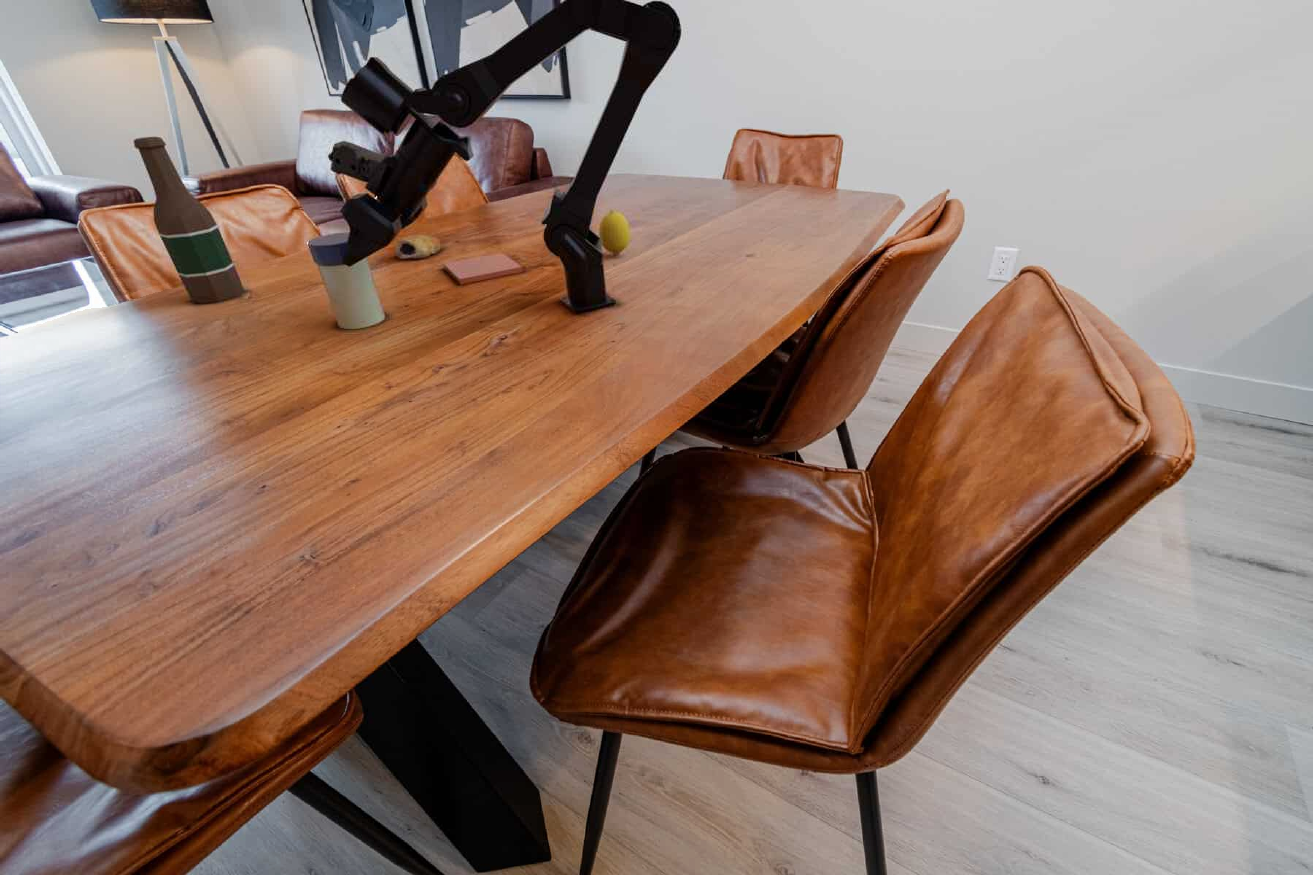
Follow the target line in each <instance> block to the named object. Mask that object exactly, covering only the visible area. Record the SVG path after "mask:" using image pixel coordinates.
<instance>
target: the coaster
mask: <svg viewBox="0 0 1313 875" xmlns="http://www.w3.org/2000/svg"><path fill="white" fill-rule="evenodd" d="M443 269H444V270H445V271H446V272H447V273H448V274H449V275H450V276H451V277H452V278H453V279H454V280H455V281H456V282H457V283H458V284H459V285H467V284H470V283H476V282H481V281H486V280H492V279H495V278H501V277H506V276H510V275H515V274H519V273H523V272H524V270H523V266H522V265H521V264H520V263H518V262H516V261H515V260H513V259H512V258H510V256H507V255H506V254H505V253H503V252H499V253H494V254H489V255H483V256H478V257H472V258H467V259H462V260H455V261H451V262H446V263H443Z"/></svg>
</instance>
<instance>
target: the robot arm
mask: <svg viewBox="0 0 1313 875" xmlns="http://www.w3.org/2000/svg"><path fill="white" fill-rule="evenodd" d="M587 31H593V32H596V33H599V34H602V35H604V36H608V37H610V38H613V39H616V40H618V41H619V40H620V41H621V42H625V44H624V48H623V52H622V55H621V56H622V57H621V60H620V65H619V69H618V73H617V77H616V79H615V82H614V84H613V87H612V90H611V91H610V94H609V97H608V98H607V100H606V104H605V106H604V108H603V110H602V113H601V114H600V117H599V119H598V121H597V124H596V126H595V128H594V131H593V133H592V136H591V138H590V140H589V143H588V145H587V147H586V149H585V152H584V154H583V157H582V159H581V161H580V164H579V166H578V168H577V170H576V173H575V176H574V178H573V179H572V181H571V182H570V184H569V185H568V186H567V188H566V189H565V191H563V190H561V189H560V188H558V187H557V186H555V188H554V191H553V195H552V198H551V202H550V204H549V206H548V208H547V209H545V211H544V213H543V216H542V219H541V225H542V226H543V225H545V226H544V229H543V235H542V236H543V241H544V244H545V247H546V248H547V250H548V251H549V252H550V253H551V254H552V255H554V256H556V257H558V258H559V260H560V262H561V264H562V266H563V271H564V277H565V279H564V280H565V287H566V294H567V296H562V297H560V298H559V302H560V303H562V304H563V305H564V306H566V307H567V308H568V309H570V310H571V311H573V312H574V313H576V314H579V313H583V312H588V311H592V310H596V309H600V308H601V309H602V308H605V307H609V306H613V305H616V304H617V300H616V299H614V298H613V297H611V296H610V295H609V294H607V288H606V287H607V286H606V277H605V266H604V259H603V257H604V254H603V245H602V239H601V238H600V237H599V234H597V233H595V232H594V231H593V230H592V229H591V228H590V227H591V224H592V219H593V217H594V216H593V215H594V211H595V207H596V202H597V200H598V199H597V198H598V195H599V193H600V191H601V189H602V186H603V185H604V183H605V181H606V178H607V176H608V174H609V172H610V169H611V167H612V165H613V163H614V160H615V158H616V156H617V154H618V152H619V150H620V148H621V145H622V143H623V142H624V139H625V136H626V135H627V132H628V130H629V127H630V125H631V123H632V121H633V119H634V117H635V115H636V112H637V111H638V107H639V106H640V104H641V102H642V99H643V97H644V95H645V93H647V91H648V90H649V88H650V86H651V85H652V84H653V82H654V81H655V80H656V79H657V77H658V76H659V74H660V73H661V72H662V70H663V69H664V67H666V64H667V63H668V61H669V60H670V58H671V57H672V55H673V54H674V53H675V51H676V50H677V49H678V46H679V44H680V41H681V38H682V25H681V22H680V17H679V15H678V13H677V11H676V10H675V9H674V7H672V6H671V5H670V4H669V3H667V2H665V1H662V0H652V1H648V2H646V3H645V4H643V5H641V4H638V3H635V2H633V1H630V0H563V1H562V2H560V3H559V4H557V5H556V6H555V7H553V8H552V9H550V10H549V11H548V12H547V13H545V14H544V15H542V16H541V17H540V18H538V19H537V20H536V21H534V22H533V23H531V24H530V25H529V26H528V27H526V28H525V29H524V30H522V31H521V32H519V34H517V35H515V36H514V37H512V39H510V40H509V41H507V42H506V43H505V44H503V45H502V46H501V47H499V48H497V49H496V50H495V51H494V52H493V53H491V54H489V55H486V56H484V57H482V58H480V59H477V60H476V61H472V62H470V63H468V64H466V65H463V66H461V67H458V68H456V69H454V70H452V71H450V72H447V73H445V74H442V75H441V76H439V77H438V78H437V79H436V81H434V83H433V85H432V87H431V88H429V89H427V88H426V87H419V88H415V89H412V88H411V87H410V86H409V85H408V84H407V83H405V82H404V81H403V80H402V79H401V78H400V77H398V76H397V75H396V74H395V73H394V72H393V71H392V70H391V69H390V68H389V66H388V65H387V64H386V63H385V62H384V61H382V59H380V58H379V57H378V56H370V57H369V58H368V60H367V62H366V63H365V65H363V66H362V67H361V68H360V69H359V70H358V71H357V72H356V73H355V75H354V76H353V77H350V79H349V80H348V82H347V83H346V84H345V87H344V88H343V91H342V92H341V97H340V102H342V104H344V105H345V107H347V108H348V109H350V110H351V111H352V112H354V114H356V115H357V116H358V117H360V118H361V119H362V120H363V121H364V122H366V123H367V124H368V125H369V126H371V127H372V128H373V129H374V130H375V131H377V132H378V133H379V134H381V135H382V136H383V137H387V136H388V135H389V134H390V133H391V132H392V134H393V135H394V136H395V137H398V136H400V135H401V134H402V133H403V131H404V130H405V129H406V127H407V126H408V125H409V123H410V122H411V120H412V119H413V118H414V119H415V120H414V121H413V122H412V124H411V125H410V126H409V129H408V130H407V132H406V134H405V135H404V137H403V138H402V140H401V141H400V142H399V144H398V146H397V147H396V149H395V150H394V151H393V152H392V153H391V154H390V155H389V154H387V155H385V156H384V155H382V154H380V153H379V152H376V151H374V150H371V149H368V148H366V147H364V146H361V145H358V144H355V143H353V142H350V141H345V140H342V141H339V142H336V143H334V144H333V146H332V150H331V152H330V153H329V154H328V155H327V158H328V160H329V161H330V171H331V172H333V173H335V174H338V175H345V176H347V177H350V178H352V179H355V180H357V181H360V182H363V183H366V184H365V186H363V188H364V189H366V190H367V191H368V192H369V193H371V194H372V195H373V196H372V195H371V194H369V193H368V192H364V193H355V194H354V195H353V196H351V197H349V198H347V199H346V200H345V203H344V204H343V205H342V207H341V209H340V211H339V212H340V213H341V214H340V215H341V216H342V217H343V220H344V221H346V223H347V225H348V227H349V231H348V232H349V237H348V241H347V244H346V248H345V252H344V255H343V259H342V262H343V263H344V264H345V265H347V266H348V267H351V266H352V265H354V264H356V263H357V262H359V261H361V260H363V259H364V258H366V257H367V258H369V257H370V256H372V255H373V254H375V253H377V252H379V251H380V250H382V249H384V248H386V247H388V246H389V245H390V244H392V243H393V241H394V240H395V239H396V238H397V236H398V235H399V234H400V232H401V230H403V229H405V228H407V227H408V226H409V225H411V224H413V223H414V222H415V221H416V220H417V219H419V217H421V215H422V214H423V213H424V211H425V210H426V208H427V207H428V201H427V196H428V194H429V193H430V191H431V190H433V189H434V188H435V186H436V185H437V184H438V180H439V178H440V176H442V174H443V172H444V171H445V169H446V168H447V166H448V165H449V164H450V162H451V161H452V159H453V157H454V156H455V154H456V155H458V156H459V157H460V158H461V159H462V160H463V161H465V162H468V161H470V160H471V159H472V158H473V157H474V156H475V154H474V152H473V148H472V136H471V135H469V134H468V135H460V134H458V133H457V132H456V131H455V130H454V129H453V128H452V127H454V128H456V129H457V128H458V129H464V128H467V127H469V126H471V125H473V124H475V123H477V122H479V121H480V120H481V119H482V118H483V117H484V116H485V115H486V114H487V113H488V112H489V111H490V110H491V108H492V107H493V106H494V105H495V104H496V103H497V102H498V101H499V100H500V98H502V96H503V95H504V94H505V92H507V90H508V89H509V88H510V87H511V86H512V85H513V84H514V83H516V82H517V81H519V80H520V79H521V78H523V77H524V76H525V75H526V74H528V73H530V72H531V71H532V70H533V69H535V68H536V67H537V66H539V65H540V64H542V63H543V62H545V61H546V60H547V59H549V58H550V57H552V56H553V55H554V54H556V53H558V51H560V50H561V49H562V48H564V47H565V46H567V45H569V43H571V42H572V41H574V40H575V39H577V38H578V37H579V36H580V35H581V36H582V34H584V33H585V32H587ZM427 115H431V116H437V117H438V118H440V120H439V121H438V122H435V121H434V120H432V119H431V118H430V117H429V116H427Z"/></svg>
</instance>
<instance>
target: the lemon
mask: <svg viewBox="0 0 1313 875" xmlns="http://www.w3.org/2000/svg"><path fill="white" fill-rule="evenodd" d="M598 236H599V237H600V238H601V239H602V248H604V249H605V251H608V252H609V253H612V255H613V256H617V257H618V256H619V255H620V253H621V252H623V251H624V250H626V248H627V247H628V246H629V243H630V239H631V231H630V226H629V223H628V221H627V219H626V217H625V216H624V215H623V214H621V213H620V212H617V211H616V210H614V209H613V210H612V209H611V210H610V211H609V212H608V213H606V214H604V216H602V218H601V220H600V222H599V228H598Z"/></svg>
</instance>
